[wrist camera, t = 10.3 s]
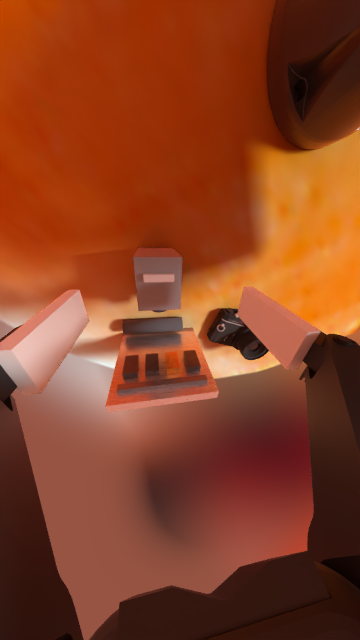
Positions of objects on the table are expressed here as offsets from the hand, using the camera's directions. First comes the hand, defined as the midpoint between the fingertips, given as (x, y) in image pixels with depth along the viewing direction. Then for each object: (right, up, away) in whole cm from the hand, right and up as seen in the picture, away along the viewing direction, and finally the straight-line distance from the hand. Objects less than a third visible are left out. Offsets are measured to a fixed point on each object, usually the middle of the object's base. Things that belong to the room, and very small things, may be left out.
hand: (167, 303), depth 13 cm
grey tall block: (-3, +6, +11) cm, 13 cm away
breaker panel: (-3, -4, +17) cm, 18 cm away
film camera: (+13, -3, +20) cm, 24 cm away
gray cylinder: (-4, -2, +16) cm, 16 cm away
